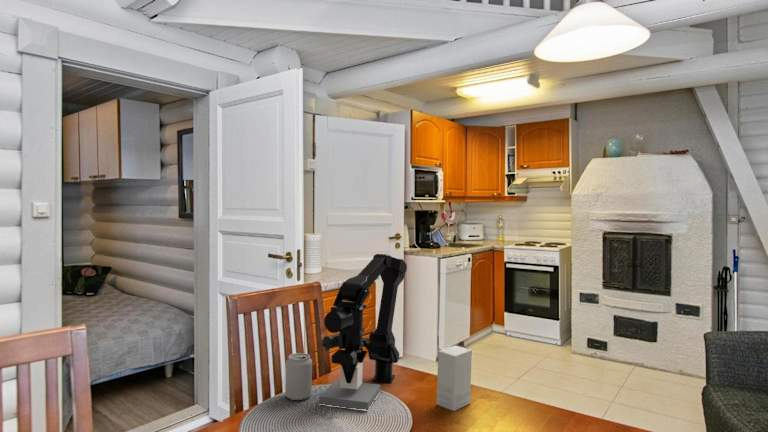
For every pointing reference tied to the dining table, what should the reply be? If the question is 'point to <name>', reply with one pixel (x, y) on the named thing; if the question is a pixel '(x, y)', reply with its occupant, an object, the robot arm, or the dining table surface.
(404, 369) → the dining table surface
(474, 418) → the dining table surface
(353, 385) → the block
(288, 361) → the can
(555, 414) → the dining table surface
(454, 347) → the skincare box
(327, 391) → the base board
